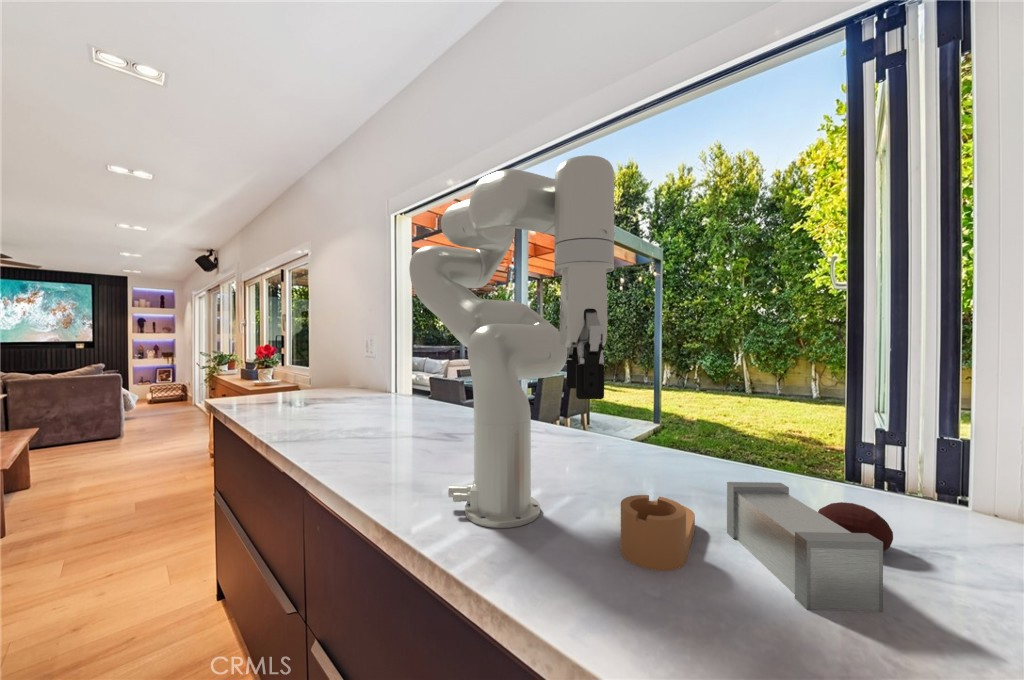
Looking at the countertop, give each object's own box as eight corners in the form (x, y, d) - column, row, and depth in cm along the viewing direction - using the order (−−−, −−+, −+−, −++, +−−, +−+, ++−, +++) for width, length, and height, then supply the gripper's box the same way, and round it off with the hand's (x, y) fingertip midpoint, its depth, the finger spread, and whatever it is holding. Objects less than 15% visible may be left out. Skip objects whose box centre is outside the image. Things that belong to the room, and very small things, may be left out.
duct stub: (806, 613, 44) (806, 540, 44) (726, 533, 62) (726, 481, 62) (882, 615, 44) (883, 542, 44) (780, 534, 62) (780, 482, 62)
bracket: (681, 582, 50) (681, 525, 50) (613, 564, 54) (613, 511, 54) (697, 524, 66) (697, 480, 66) (643, 513, 70) (643, 472, 70)
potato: (822, 529, 64) (822, 489, 64) (895, 549, 58) (896, 505, 58) (810, 545, 59) (810, 502, 59) (889, 569, 53) (889, 521, 53)
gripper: (549, 270, 62) (549, 385, 62) (561, 245, 45) (560, 404, 45) (600, 270, 62) (599, 385, 62) (631, 244, 45) (630, 404, 45)
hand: (583, 392), depth 53 cm, fingers open, 9 cm apart
